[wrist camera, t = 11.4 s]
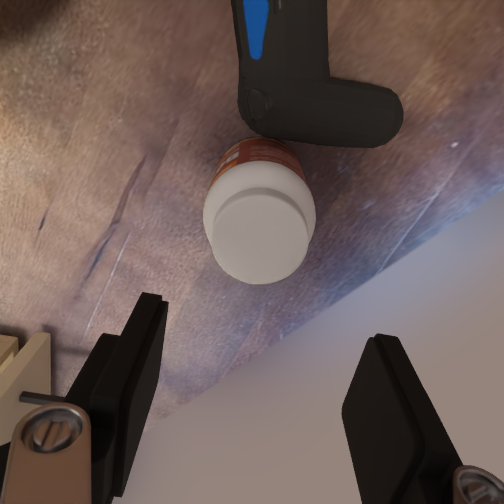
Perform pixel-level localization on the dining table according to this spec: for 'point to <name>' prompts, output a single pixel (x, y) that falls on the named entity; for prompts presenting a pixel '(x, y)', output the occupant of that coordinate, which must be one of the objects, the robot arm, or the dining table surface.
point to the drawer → (23, 380)
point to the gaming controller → (304, 80)
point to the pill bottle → (259, 212)
